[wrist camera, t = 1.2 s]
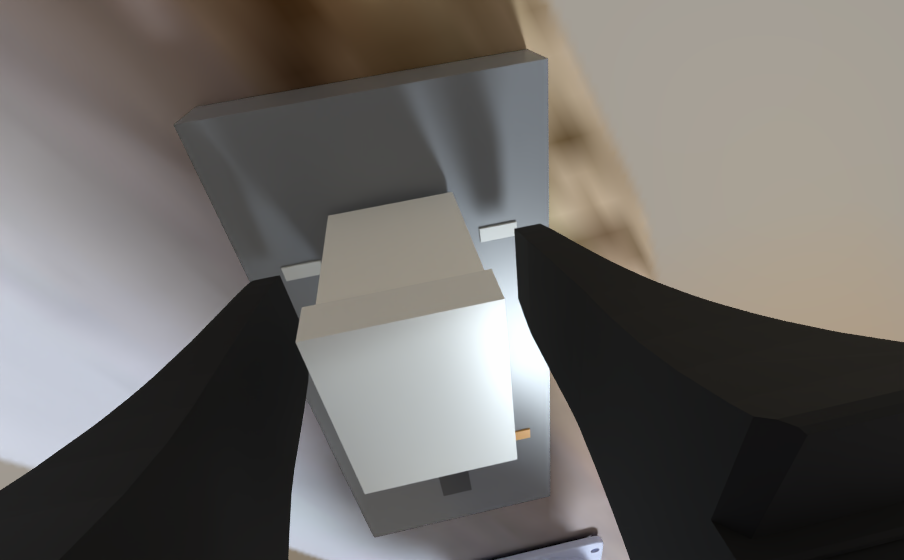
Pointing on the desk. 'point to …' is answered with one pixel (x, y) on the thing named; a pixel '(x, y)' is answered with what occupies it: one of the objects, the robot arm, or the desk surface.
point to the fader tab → (410, 344)
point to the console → (385, 182)
